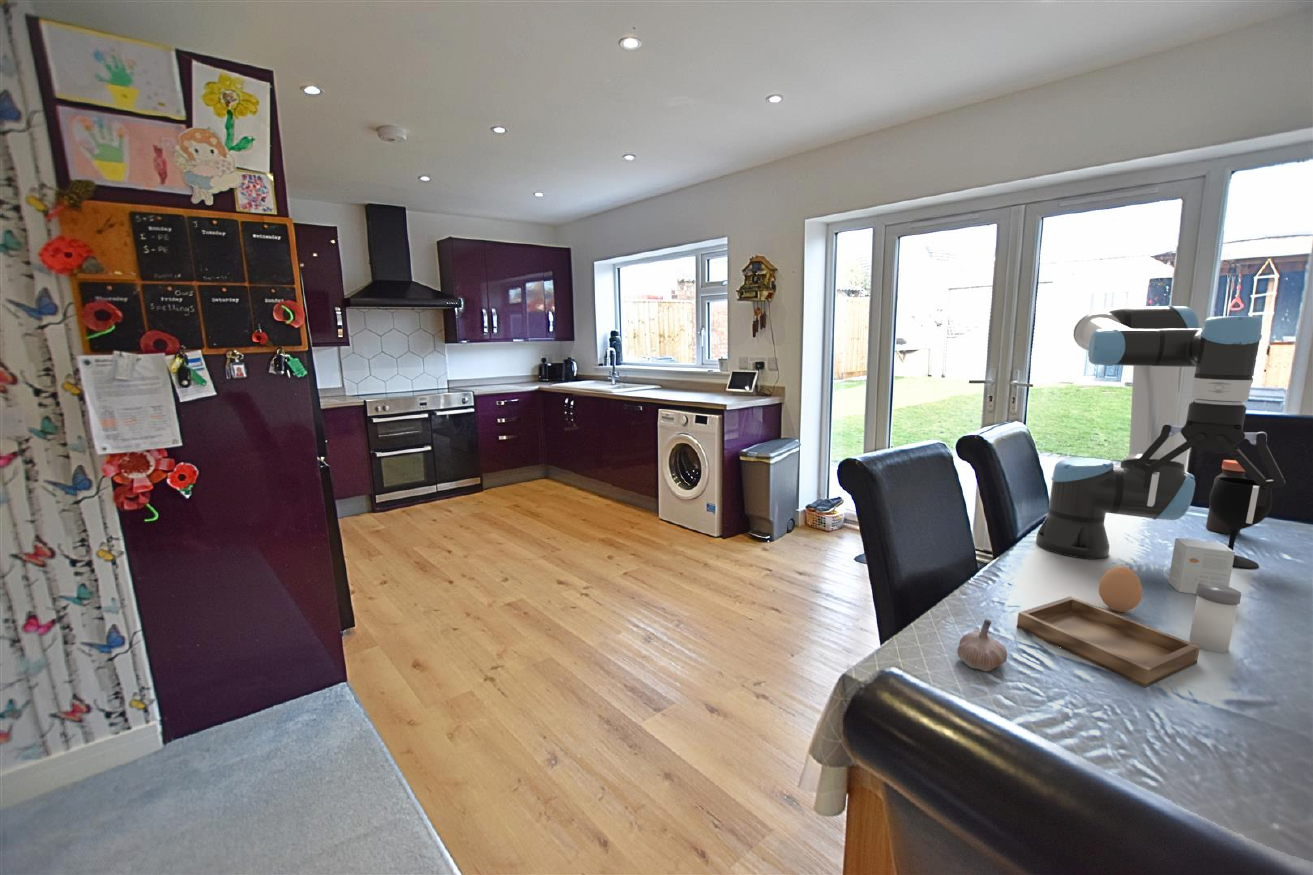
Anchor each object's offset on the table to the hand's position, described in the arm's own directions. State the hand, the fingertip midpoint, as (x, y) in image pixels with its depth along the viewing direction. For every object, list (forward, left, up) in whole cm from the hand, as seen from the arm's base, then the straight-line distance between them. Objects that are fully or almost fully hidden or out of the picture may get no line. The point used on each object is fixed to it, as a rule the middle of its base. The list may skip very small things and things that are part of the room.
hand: (1197, 513), depth 106 cm
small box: (-4, +17, -21) cm, 27 cm away
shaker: (+8, -9, -21) cm, 24 cm away
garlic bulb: (-5, -51, -21) cm, 56 cm away
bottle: (-20, +72, -21) cm, 77 cm away
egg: (-6, -9, -21) cm, 24 cm away
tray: (0, -26, -21) cm, 34 cm away
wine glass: (-9, +45, -21) cm, 50 cm away
